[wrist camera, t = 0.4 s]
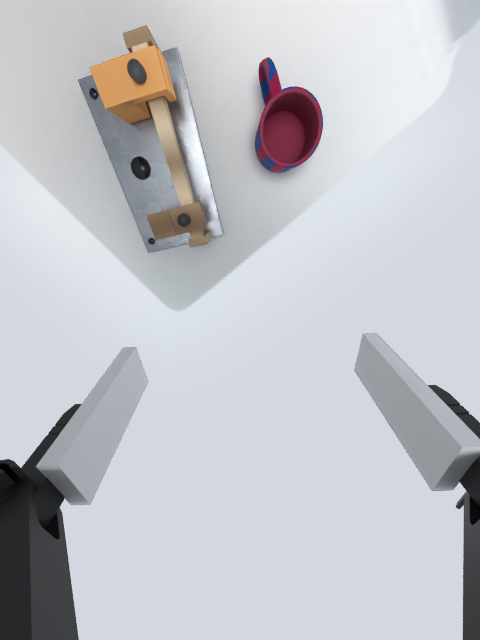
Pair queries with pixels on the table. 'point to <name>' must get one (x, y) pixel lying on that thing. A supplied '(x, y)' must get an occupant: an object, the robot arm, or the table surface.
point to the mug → (286, 123)
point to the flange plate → (155, 158)
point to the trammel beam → (171, 165)
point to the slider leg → (133, 83)
